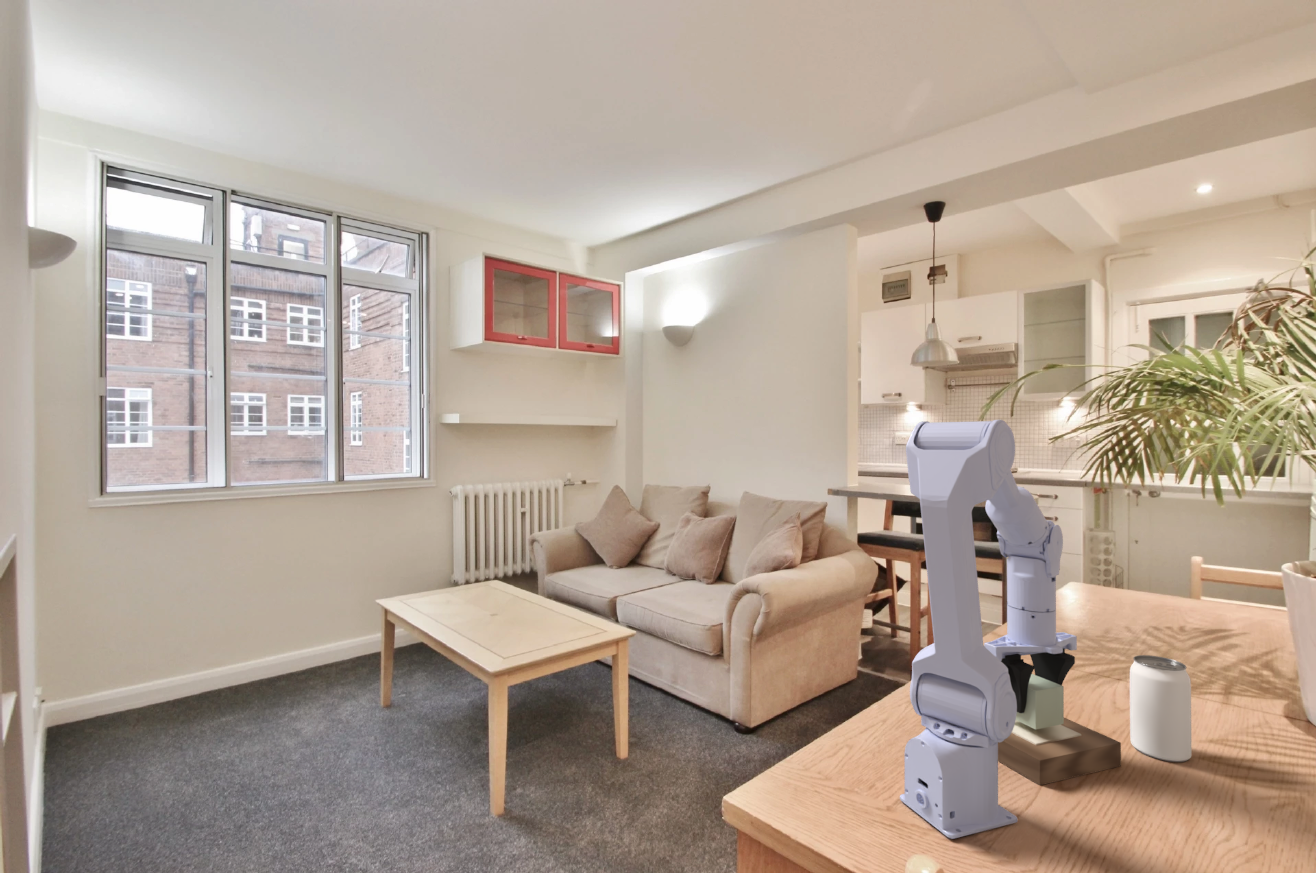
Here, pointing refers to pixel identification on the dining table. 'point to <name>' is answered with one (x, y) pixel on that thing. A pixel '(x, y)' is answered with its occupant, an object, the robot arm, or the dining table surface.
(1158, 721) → the can
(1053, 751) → the base
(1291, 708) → the dining table surface
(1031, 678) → the cube
